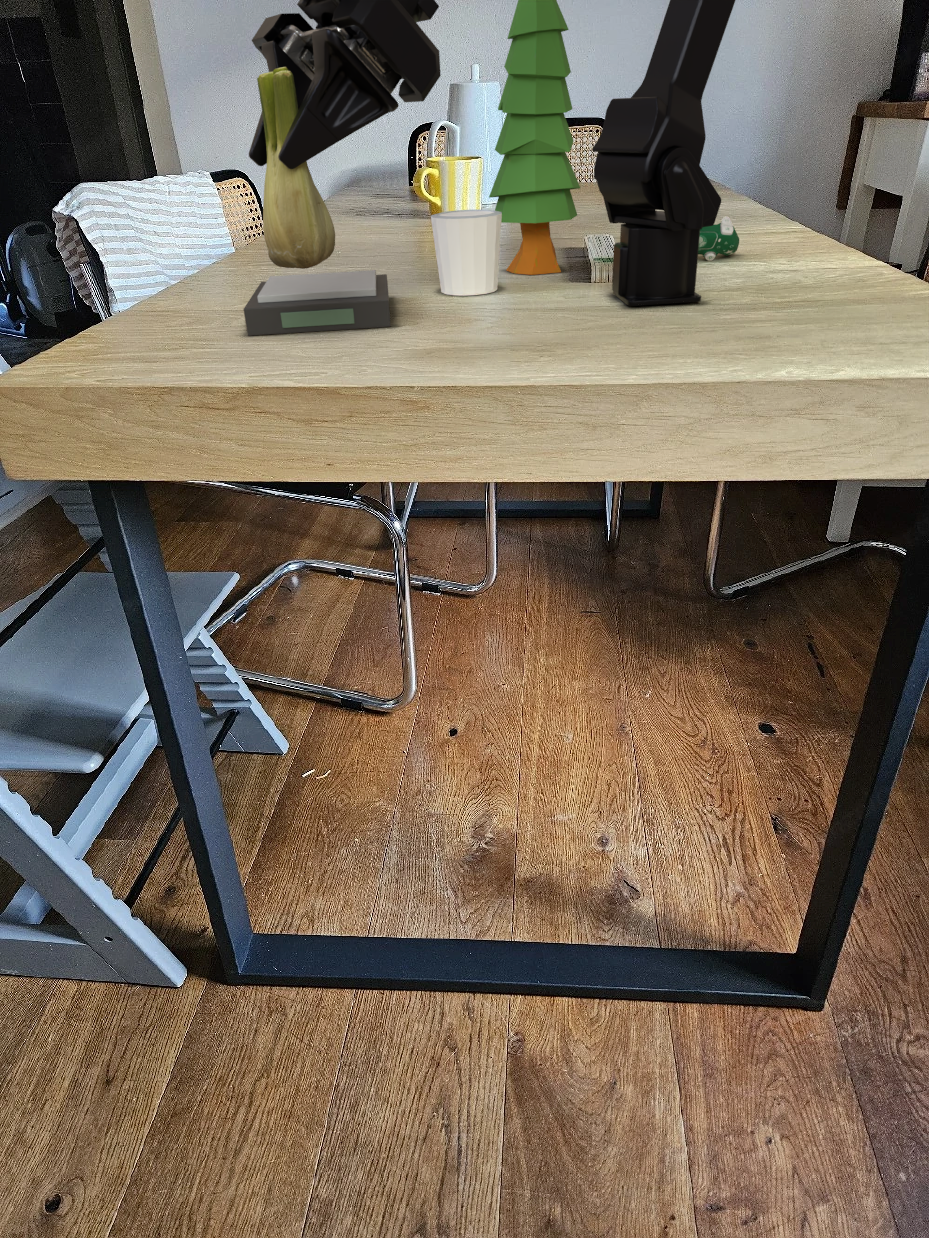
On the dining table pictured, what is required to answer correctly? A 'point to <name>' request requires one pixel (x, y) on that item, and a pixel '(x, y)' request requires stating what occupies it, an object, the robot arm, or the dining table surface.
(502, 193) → the decorative tree
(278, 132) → the fennel bulb
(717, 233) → the green toy car
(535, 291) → the dining table surface
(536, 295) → the dining table surface
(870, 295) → the dining table surface
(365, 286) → the kitchen scale
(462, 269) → the white cup
